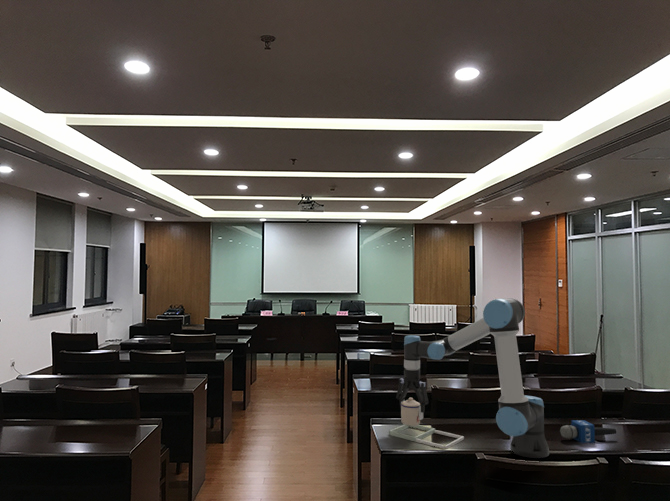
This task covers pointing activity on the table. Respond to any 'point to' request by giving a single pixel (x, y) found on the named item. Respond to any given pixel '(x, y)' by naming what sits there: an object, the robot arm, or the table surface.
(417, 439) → the divided tray
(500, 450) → the table surface
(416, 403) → the teacup with lid
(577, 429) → the microphone
